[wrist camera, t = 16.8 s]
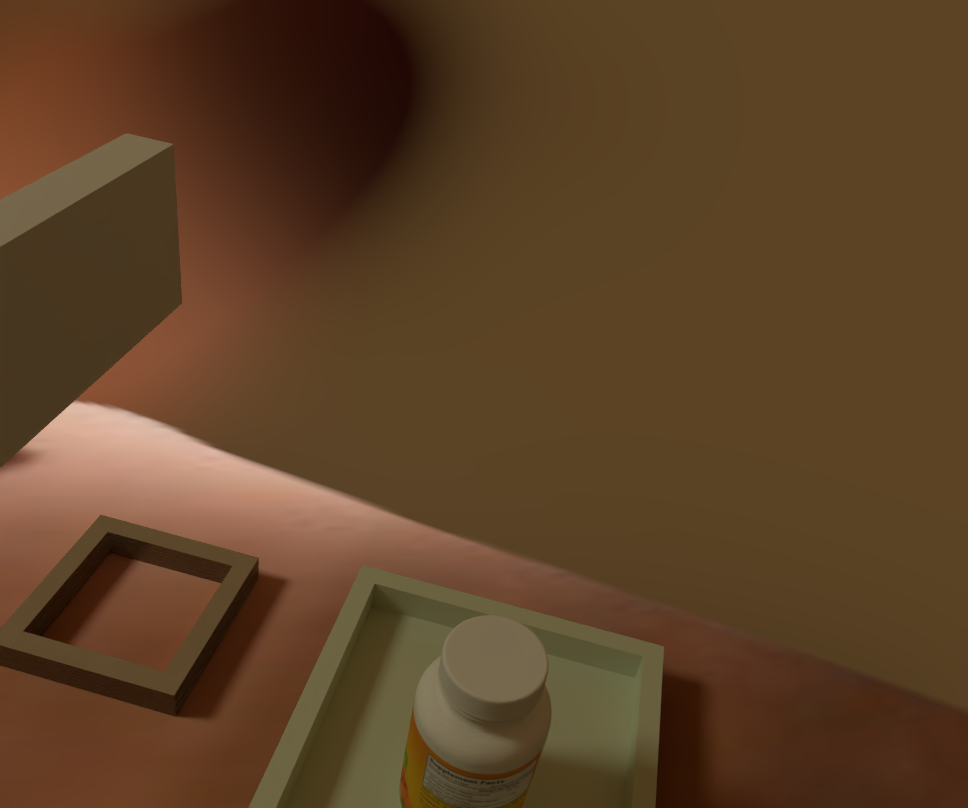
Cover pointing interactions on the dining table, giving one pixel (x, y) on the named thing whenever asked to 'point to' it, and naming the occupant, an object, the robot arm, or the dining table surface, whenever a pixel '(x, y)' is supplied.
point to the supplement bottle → (478, 719)
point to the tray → (392, 686)
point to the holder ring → (114, 676)
